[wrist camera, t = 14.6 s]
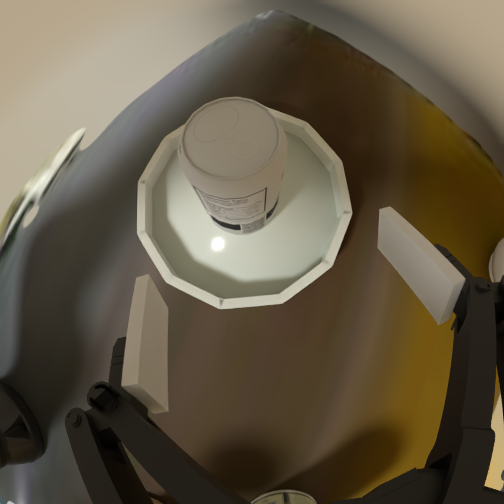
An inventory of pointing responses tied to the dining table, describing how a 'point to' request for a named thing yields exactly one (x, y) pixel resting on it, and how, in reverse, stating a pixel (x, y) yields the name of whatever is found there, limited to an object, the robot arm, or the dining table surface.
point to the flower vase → (497, 262)
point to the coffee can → (284, 498)
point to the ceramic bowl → (252, 245)
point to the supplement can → (234, 162)
